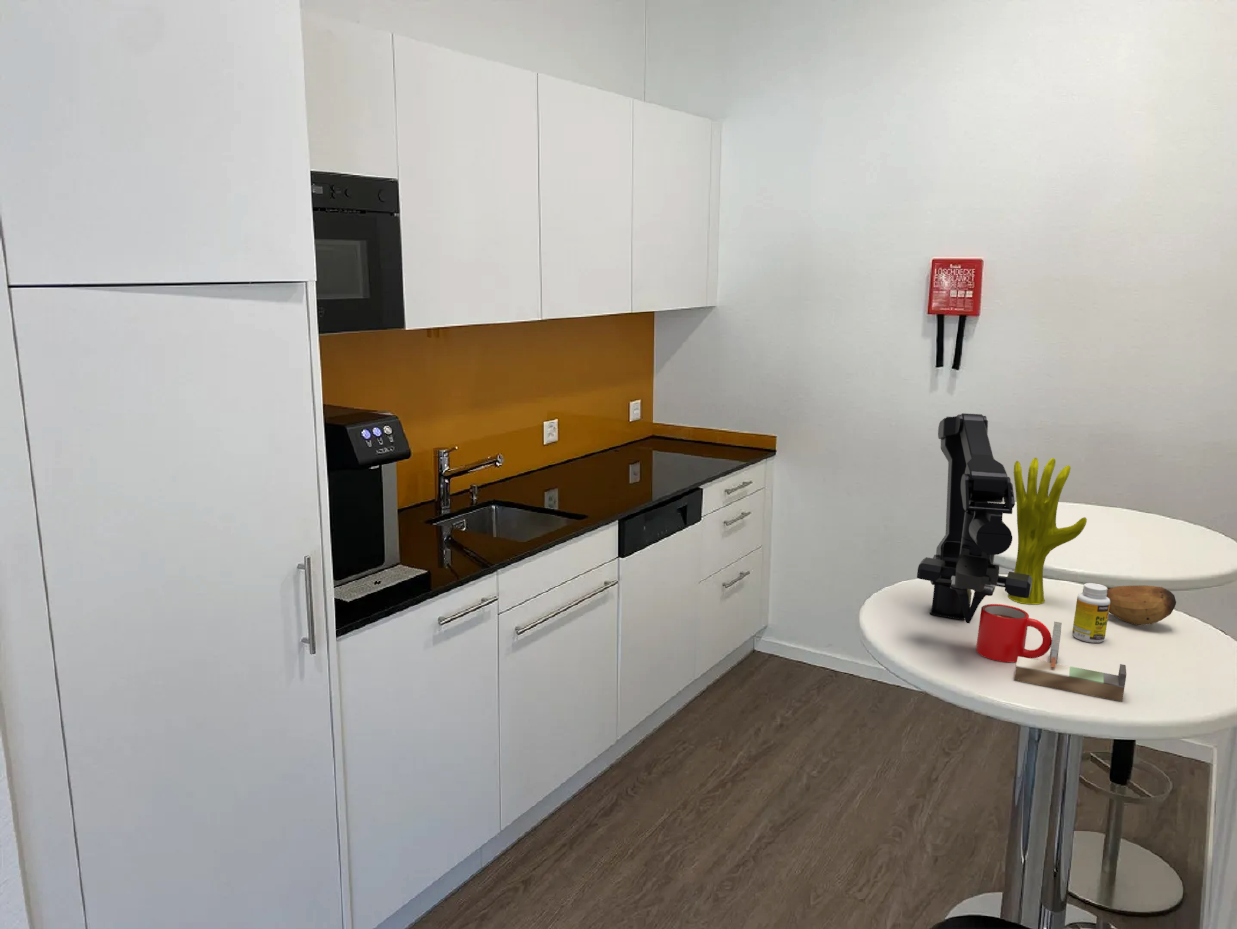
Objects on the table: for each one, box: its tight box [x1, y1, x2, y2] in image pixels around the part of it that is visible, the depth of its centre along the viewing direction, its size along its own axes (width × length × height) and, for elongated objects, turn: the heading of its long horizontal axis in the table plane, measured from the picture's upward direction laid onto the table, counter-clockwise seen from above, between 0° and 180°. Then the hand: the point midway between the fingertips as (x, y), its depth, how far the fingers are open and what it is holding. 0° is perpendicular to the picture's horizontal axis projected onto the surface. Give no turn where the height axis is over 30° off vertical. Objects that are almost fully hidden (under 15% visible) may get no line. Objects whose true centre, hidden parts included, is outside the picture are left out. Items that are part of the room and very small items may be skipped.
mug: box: [975, 603, 1052, 663], centre depth 168 cm, size 8×12×8 cm, turn 60°
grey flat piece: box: [1048, 621, 1062, 667], centre depth 163 cm, size 1×14×6 cm, turn 154°
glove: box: [1007, 457, 1088, 606], centre depth 196 cm, size 15×8×30 cm, turn 49°
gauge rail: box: [1014, 656, 1127, 702], centre depth 156 cm, size 16×4×5 cm, turn 64°
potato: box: [1106, 584, 1177, 627], centre depth 187 cm, size 8×14×8 cm
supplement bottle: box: [1071, 582, 1110, 644], centre depth 178 cm, size 6×6×10 cm
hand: (968, 622), depth 171 cm, fingers closed
